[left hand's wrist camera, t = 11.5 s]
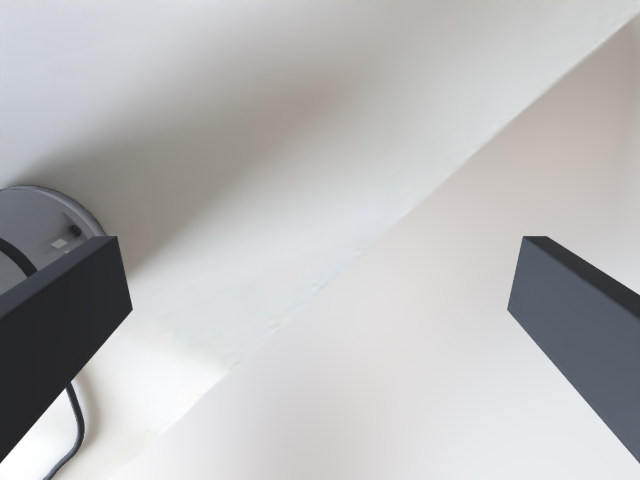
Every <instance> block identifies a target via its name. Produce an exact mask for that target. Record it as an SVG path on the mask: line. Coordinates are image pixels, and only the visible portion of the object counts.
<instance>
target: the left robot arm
mask: <svg viewBox="0 0 640 480" xmlns="http://www.w3.org/2000/svg"><path fill="white" fill-rule="evenodd" d="M132 310H133V308H132V303H131V299H130V294H129V290H128V285H127V280H126V276H125V271H124V266H123V262H122V257H121V253H120V248H119V243H118V239H117V236H106V235H105V233H104V231H103V230H102V228H101V227H100V225H99V224H98V222H97V221H96V220H95V219H94V218H93V216H92V215H91V214H90V213H89V212H88V211H87V210H86V209H84V208H83V207H82V206H81V205H79V204H78V203H77V202H75V201H74V200H72V199H70V198H69V197H67V196H65V195H63V194H61V193H59V192H56V191H53V190H50V189H47V188H43V187H38V186H15V187H10V188H7V189H3V190H0V463H1V462H2V461H3V460H4V459H5V457H6V456H7V455H8V454H9V453H10V452H11V450H12V449H13V448H14V447H15V446H16V445H17V443H18V442H19V441H20V440H21V439H22V438H23V437H24V435H25V434H26V433H27V432H28V431H29V430H30V428H31V427H32V426H33V425H34V424H35V423H36V421H37V420H38V419H39V418H40V417H41V416H42V414H43V413H44V412H45V411H46V410H47V409H48V407H49V406H50V405H51V404H52V403H53V402H54V401H55V399H56V398H57V397H58V396H59V395H60V394H61V392H62V391H63V390H64V389H66V391H67V394H68V397H69V399H70V402H71V405H72V408H73V411H74V414H75V417H76V421H77V426H78V434H77V439H76V443H75V445H74V447H73V448H72V450H71V451H70V452H69V453H68V454H67V455H66V456H65V457H64V458H62V459H61V460H60V461H59V462H58V463H57V464H56V465H55V466H54V467H53V469H52V470H51V471H50V472H49V474H48V475H47V476H46V477H45V478H44V479H43V480H51V478H52V477H53V476H54V475H55V474H56V472H57V471H58V470H59V469H60V468H61V467H62V466H63V465H64V464H65V463H66V462H67V461H69V460H70V459H71V458H72V457H73V456H74V455H75V454H76V452H77V451H78V449H79V448H80V446H81V444H82V441H83V438H84V430H85V428H84V420H83V416H82V412H81V409H80V406H79V403H78V400H77V397H76V394H75V391H74V389H73V386H72V384H71V381H72V380H73V378H74V377H75V376H76V375H77V374H78V373H79V372H80V370H81V369H82V368H83V367H84V366H85V365H86V363H87V362H88V361H89V360H90V359H91V358H92V356H93V355H94V354H95V353H96V352H97V351H98V349H99V348H100V347H101V346H102V345H103V344H104V343H105V341H106V340H107V339H108V338H109V337H110V336H111V334H112V333H113V332H114V331H115V330H116V329H117V327H118V326H119V325H120V324H121V323H122V322H123V320H124V319H125V318H126V317H127V316H128V315H129V313H130V312H131V311H132ZM507 310H508V311H509V312H510V313H511V315H512V316H513V317H514V318H515V319H516V320H517V322H518V323H519V324H520V325H521V326H522V327H523V329H524V330H525V331H526V332H527V333H528V334H529V336H530V337H531V338H532V339H533V340H534V341H535V343H536V344H537V345H538V346H539V347H540V348H541V349H542V351H543V352H544V353H545V354H546V355H547V356H548V358H549V359H550V360H551V361H552V362H553V363H554V365H555V366H556V367H557V368H558V369H559V370H560V371H561V373H562V374H563V375H564V376H565V377H566V378H567V380H568V381H569V382H570V383H571V384H572V385H573V386H574V388H575V389H576V390H577V391H578V392H579V394H580V395H581V396H582V397H583V398H584V399H585V401H586V402H587V403H588V404H589V405H590V406H591V407H592V409H593V410H594V411H595V412H596V413H597V414H598V416H599V417H600V418H601V419H602V420H603V421H604V423H605V424H606V425H607V426H608V427H609V428H610V429H611V431H612V432H613V433H614V434H615V435H616V436H617V438H618V439H619V440H620V441H621V442H622V443H623V445H624V446H625V447H626V448H627V449H628V450H629V451H630V453H631V454H632V455H633V456H634V457H635V459H636V460H637V461H638V462H639V463H640V295H639V294H637V293H635V292H634V291H632V290H631V289H629V288H627V287H626V286H624V285H623V284H621V283H620V282H618V281H616V280H615V279H613V278H612V277H610V276H609V275H607V274H605V273H604V272H602V271H601V270H599V269H597V268H596V267H594V266H593V265H591V264H590V263H588V262H587V261H585V260H583V259H582V258H580V257H579V256H577V255H576V254H574V253H572V252H571V251H569V250H568V249H566V248H564V247H563V246H561V245H560V244H558V243H557V242H555V241H553V240H552V239H550V238H549V237H547V236H523V239H522V243H521V248H520V253H519V257H518V262H517V266H516V271H515V276H514V280H513V285H512V290H511V294H510V299H509V304H508V308H507Z"/></svg>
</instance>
